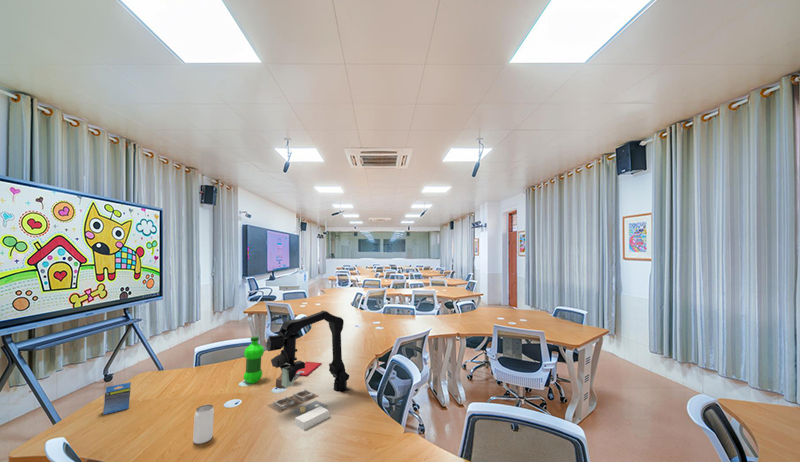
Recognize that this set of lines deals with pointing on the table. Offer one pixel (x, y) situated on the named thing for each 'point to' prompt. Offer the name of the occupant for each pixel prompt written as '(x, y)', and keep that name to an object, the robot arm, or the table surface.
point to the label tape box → (117, 398)
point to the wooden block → (279, 382)
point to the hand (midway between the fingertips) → (287, 380)
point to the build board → (292, 401)
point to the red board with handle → (307, 369)
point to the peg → (286, 378)
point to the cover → (311, 418)
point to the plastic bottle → (253, 361)
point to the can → (203, 424)
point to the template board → (308, 408)
